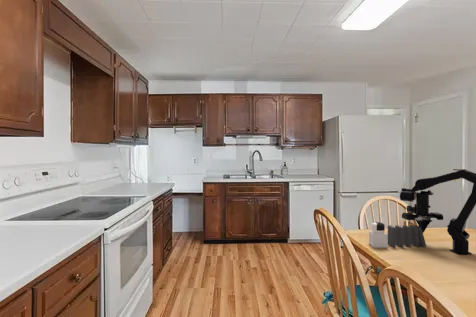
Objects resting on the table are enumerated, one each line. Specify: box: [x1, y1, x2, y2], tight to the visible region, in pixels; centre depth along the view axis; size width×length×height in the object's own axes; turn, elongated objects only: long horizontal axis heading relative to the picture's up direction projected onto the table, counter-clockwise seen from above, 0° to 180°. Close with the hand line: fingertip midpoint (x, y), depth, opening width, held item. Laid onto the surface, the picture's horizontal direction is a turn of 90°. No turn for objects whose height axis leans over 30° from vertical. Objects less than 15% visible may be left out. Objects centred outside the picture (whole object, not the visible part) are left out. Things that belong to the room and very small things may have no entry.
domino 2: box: [394, 224, 404, 248], centre depth 163 cm, size 5×2×10 cm, turn 1°
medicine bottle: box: [368, 221, 389, 249], centre depth 163 cm, size 7×7×12 cm
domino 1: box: [387, 224, 397, 248], centre depth 163 cm, size 5×2×10 cm, turn 1°
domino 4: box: [409, 224, 420, 248], centre depth 163 cm, size 5×2×10 cm, turn 1°
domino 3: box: [402, 224, 412, 248], centre depth 163 cm, size 5×2×10 cm, turn 1°
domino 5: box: [414, 224, 427, 248], centre depth 164 cm, size 5×2×10 cm, turn 1°
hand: (422, 232), depth 164 cm, fingers closed
